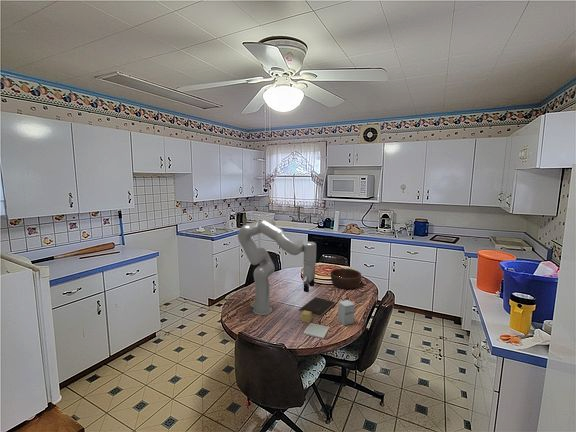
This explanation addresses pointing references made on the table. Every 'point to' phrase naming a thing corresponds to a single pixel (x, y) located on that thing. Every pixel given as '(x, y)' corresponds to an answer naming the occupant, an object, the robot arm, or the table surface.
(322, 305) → the hardcover book
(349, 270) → the wooden bowl
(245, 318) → the table surface
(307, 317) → the ochre cube
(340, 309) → the supplement box
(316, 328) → the mat
